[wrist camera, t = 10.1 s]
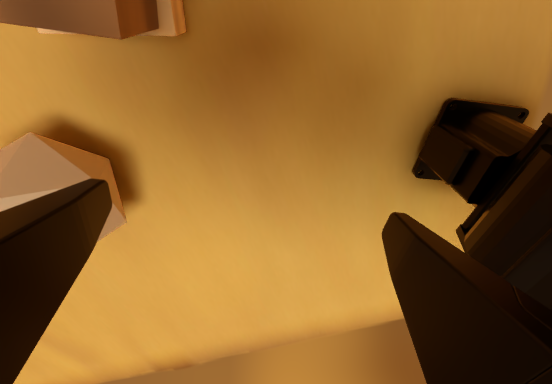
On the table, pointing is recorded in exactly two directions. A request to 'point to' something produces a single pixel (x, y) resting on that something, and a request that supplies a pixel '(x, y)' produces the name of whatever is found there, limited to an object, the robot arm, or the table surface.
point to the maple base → (168, 20)
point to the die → (52, 173)
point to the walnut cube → (84, 16)
